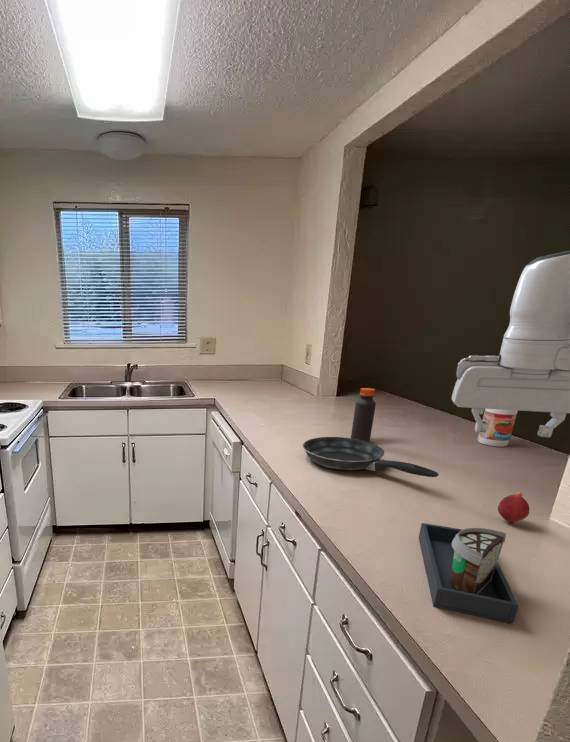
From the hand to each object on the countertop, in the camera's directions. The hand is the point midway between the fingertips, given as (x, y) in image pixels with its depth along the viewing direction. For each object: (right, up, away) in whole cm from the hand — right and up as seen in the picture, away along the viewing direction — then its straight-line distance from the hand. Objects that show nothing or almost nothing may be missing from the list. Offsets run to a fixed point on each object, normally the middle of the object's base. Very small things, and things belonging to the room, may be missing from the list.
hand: (511, 433), depth 78 cm
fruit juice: (+59, +1, +82) cm, 101 cm away
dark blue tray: (-5, -27, +7) cm, 29 cm away
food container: (-6, -28, +4) cm, 29 cm away
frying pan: (-1, -8, +61) cm, 61 cm away
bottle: (+11, +2, +86) cm, 87 cm away
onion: (+21, -20, +26) cm, 39 cm away
